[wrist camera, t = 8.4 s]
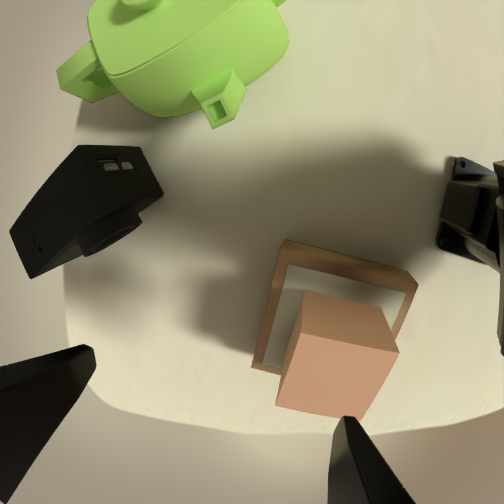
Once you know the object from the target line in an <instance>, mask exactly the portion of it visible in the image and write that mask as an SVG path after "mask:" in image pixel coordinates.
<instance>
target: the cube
mask: <svg viewBox="0 0 504 504" xmlns="http://www.w3.org/2000/svg"><path fill="white" fill-rule="evenodd" d="M398 355H399V350H398V348H397V345H396V343H395V340H394V337H393V335H392V332H391V330H390V327H389V325H388V322H387V320H386V318H385V315H384V313H383V310H382V308H381V307H377V306H373V305H369V304H364V303H360V302H356V301H352V300H347V299H343V298H339V297H335V296H331V295H327V294H322V293H318V292H314V291H310V290H306V289H305V291H304V294H303V298H302V301H301V305H300V308H299V311H298V315H297V318H296V321H295V324H294V328H293V331H292V334H291V337H290V341H289V344H288V347H287V350H286V353H285V357H284V363H283V368H282V373H281V378H280V384H279V389H278V394H277V398H276V403H275V406H279V407H283V408H288V409H292V410H297V411H302V412H307V413H312V414H318V415H323V416H329V417H335V418H341V417H342V416H344V415H346V416H354V417H356V419H357V420H358V421H361V419H362V418H363V416H364V415H365V413H366V411H367V410H368V408H369V407H370V405H371V403H372V402H373V400H374V398H375V397H376V395H377V393H378V392H379V390H380V388H381V387H382V385H383V383H384V381H385V379H386V378H387V376H388V374H389V372H390V370H391V369H392V367H393V365H394V363H395V361H396V359H397V357H398Z"/></svg>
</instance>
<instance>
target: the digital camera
mask: <svg viewBox="0 0 504 504" xmlns="http://www.w3.org/2000/svg"><path fill="white" fill-rule="evenodd" d="M163 195H164V193H163V191H162V189H161V187H160V185H159V183H158V182H157V180H156V178H155V176H154V174H153V172H152V170H151V168H150V166H149V164H148V162H147V160H146V158H145V156H144V155H143V153H142V151H141V149H140V147H132V146H110V145H78V146H77V147H76V148H75V149H74V150H73V151H72V152H71V153H70V154H69V155H68V156H67V158H66V159H65V160H64V161H63V162H62V163H61V164H60V165H59V167H57V169H56V170H55V171H54V172H53V173H52V174H51V176H50V177H49V178H48V179H47V180H46V182H45V183H44V184H43V185H42V187H41V188H40V189H39V190H38V192H37V193H36V194H35V195H34V197H33V198H32V199H31V201H30V202H29V203H28V205H27V206H26V207H25V209H24V210H23V211H22V213H21V215H20V216H19V217H18V219H17V220H16V222H15V223H14V224H13V226H12V228H11V229H10V231H9V232H10V235H11V238H12V240H13V242H14V245H15V247H16V250H17V252H18V254H19V257H20V259H21V261H22V263H23V265H24V268H25V270H26V272H27V274H28V276H29V278H30V279H33V278H35V277H37V276H39V275H41V274H43V273H45V272H47V271H49V270H51V269H54V268H56V267H58V266H60V265H62V264H64V263H66V262H68V261H70V260H73V259H75V258H77V257H79V256H81V255H84V257H87V256H90V255H92V254H95V253H97V252H99V251H101V250H102V249H104V248H106V247H108V246H110V245H111V244H113V243H115V242H116V241H118V240H120V239H121V238H123V237H124V236H126V235H127V234H129V233H130V232H132V231H133V230H135V229H136V228H137V227H138V226H140V225H141V224H142V221H141V219H140V217H139V215H138V213H139V212H141V211H142V210H144V209H145V208H146V207H148V206H149V205H151V204H152V203H154V202H155V201H156V200H158V199H159V198H161V197H162V196H163Z"/></svg>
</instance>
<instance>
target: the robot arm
mask: <svg viewBox="0 0 504 504" xmlns="http://www.w3.org/2000/svg"><path fill="white" fill-rule="evenodd" d="M461 161H462V163H463V167H462V168H461V167H460V162H461ZM493 166H494V171H495V172H493V171H491V170H489V169H487V168H485V167H483V166H481V165H479V164H477V163H475V162H473V161H471V160H468V159H466V158H464V157H458V158H456V159H455V162H454V167H453V172H452V177H451V181H450V182H448V185H447V190H446V194H445V198H444V202H443V206H442V210H441V214H440V218H441V222H440V226H439V229H438V233H437V236H436V240H435V243H436V245H437V247H439V248H440V249H442V250H445V251H448V252H451V253H455V254H458V255H461V256H464V257H467V258H470V259H473V260H476V261H479V262H482V263H484V264H487V265H489V266H490V267H492V268H493V269H495V270H496V271H498V272H499V273H500V300H499V316H498V327H497V335H498V339H499V343H500V345H501V354H502V355H503V356H504V160H502V161H498V162H493ZM442 239H444V243H443V244H440V242H441V240H442ZM95 369H96V360H95V354H94V350H93V348H92V347H90V346H88V345H85V344H82V345H78V346H75V347H71V348H68V349H65V350H61V351H57V352H54V353H50V354H46V355H43V356H39V357H35V358H32V359H28V360H24V361H21V362H17V363H13V364H9V365H4V366H1V367H0V500H1V502H3V503H4V504H7V502H8V501H9V499H10V498H11V496H12V495H13V493H14V491H15V490H16V488H17V487H18V485H19V483H20V482H21V480H22V479H23V477H24V476H25V474H26V473H27V471H28V470H29V468H30V467H31V465H32V463H33V462H34V461H35V459H36V458H37V456H38V455H39V453H40V452H41V450H42V449H43V447H44V446H45V445H46V443H47V442H48V440H49V439H50V437H51V436H52V434H53V433H54V432H55V430H56V429H57V428H58V426H59V425H60V423H61V422H62V421H63V419H64V417H65V416H66V415H67V414H68V412H69V411H70V409H71V408H72V407H73V405H74V404H75V403H76V401H77V400H78V398H79V397H80V395H81V393H82V392H83V390H84V388H85V387H86V385H87V383H88V381H89V380H90V378H91V376H92V375H93V373H94V371H95ZM328 504H416V503H415V502H414V500H413V499H412V498H411V496H410V495H409V493H408V492H407V491H406V489H405V488H403V485H402V484H401V482H400V481H399V479H398V478H397V477H396V475H395V474H394V472H393V471H392V469H391V468H390V466H389V465H388V464H387V462H386V461H385V459H384V458H383V457H382V455H381V454H380V452H379V451H378V449H377V448H376V446H375V445H374V444H373V442H372V440H371V439H370V438H369V436H368V435H367V433H366V432H365V430H364V429H363V427H362V426H361V425H360V423H359V422H358V420H357V419H356V417H354V416H346V415H344V416H342V417H341V419H340V421H339V423H338V425H337V427H336V429H335V431H334V434H333V441H332V450H331V457H330V465H329V472H328Z"/></svg>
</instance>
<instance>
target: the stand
mask: <svg viewBox="0 0 504 504" xmlns="http://www.w3.org/2000/svg"><path fill="white" fill-rule="evenodd" d="M417 288H418V283H417V282H416V281H415V280H414V278H413V277H412V276H411V275H410V273H409V272H408V271H405V270H401V269H398V268H394V267H390V266H386V265H383V264H379V263H375V262H371V261H367V260H363V259H359V258H356V257H352V256H348V255H344V254H340V253H336V252H332V251H328V250H324V249H320V248H316V247H312V246H308V245H304V244H300V243H296V242H292V241H288V240H284V241H283V243H282V246H281V248H280V251H279V256H278V260H277V264H276V269H275V273H274V277H273V281H272V285H271V289H270V294H269V298H268V302H267V306H266V310H265V314H264V318H263V322H262V326H261V330H260V334H259V338H258V342H257V346H256V350H255V354H254V358H253V361H252V365H251V368H255V369H258V370H262V371H266V372H270V373H274V374H278V375H281V373H282V368H283V363H284V357H285V353H286V350H287V347H288V344H289V341H290V337H291V334H292V331H293V328H294V324H295V321H296V318H297V315H298V311H299V308H300V305H301V301H302V298H303V294H304V291H305V289H306V290H310V291H314V292H318V293H322V294H327V295H331V296H335V297H339V298H343V299H347V300H352V301H356V302H360V303H364V304H369V305H373V306H377V307H381V308H382V310H383V313H384V315H385V318H386V320H387V322H388V325H389V327H390V330H391V332H392V335H393V337H394V340H395V339H396V337H397V335H398V333H399V331H400V328H401V326H402V324H403V322H404V319H405V317H406V315H407V312H408V310H409V308H410V305H411V303H412V300H413V298H414V295H415V293H416V290H417Z"/></svg>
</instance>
